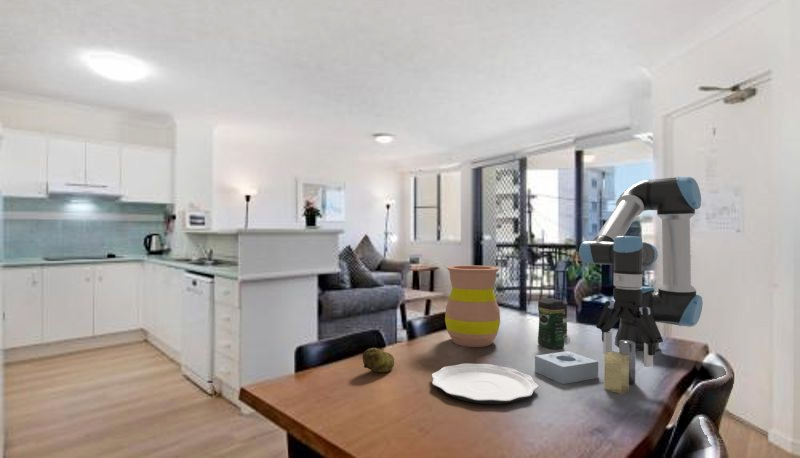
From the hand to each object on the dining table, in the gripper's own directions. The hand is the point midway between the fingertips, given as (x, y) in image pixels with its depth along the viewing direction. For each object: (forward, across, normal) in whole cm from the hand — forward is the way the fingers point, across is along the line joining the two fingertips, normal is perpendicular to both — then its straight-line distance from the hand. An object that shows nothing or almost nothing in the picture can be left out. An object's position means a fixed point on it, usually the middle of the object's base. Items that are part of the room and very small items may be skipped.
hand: (627, 359), depth 124 cm
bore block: (+7, -12, -12) cm, 18 cm away
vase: (+7, -56, -18) cm, 59 cm away
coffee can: (+7, -54, +23) cm, 59 cm away
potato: (+8, -36, -65) cm, 74 cm away
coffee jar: (+7, -39, +7) cm, 40 cm away
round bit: (+7, 0, 0) cm, 7 cm away
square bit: (+7, +3, -8) cm, 11 cm away
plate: (+8, -13, -42) cm, 44 cm away
